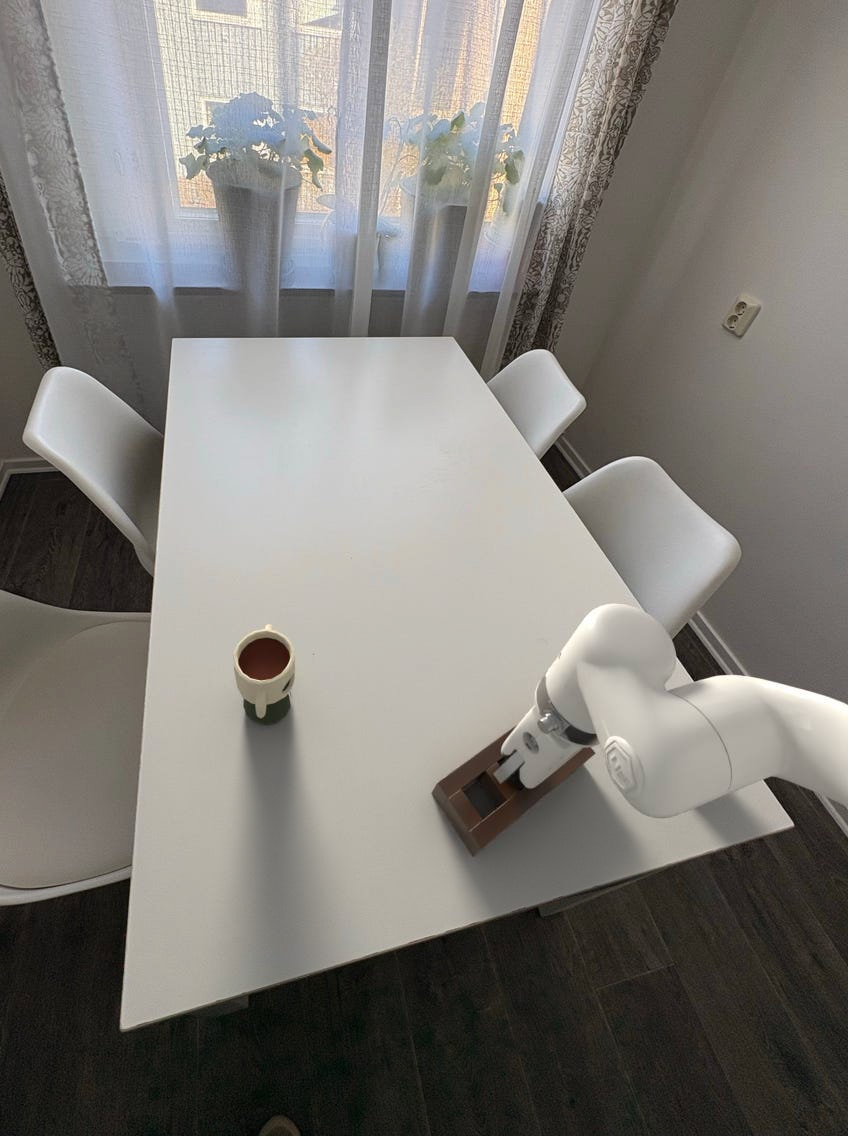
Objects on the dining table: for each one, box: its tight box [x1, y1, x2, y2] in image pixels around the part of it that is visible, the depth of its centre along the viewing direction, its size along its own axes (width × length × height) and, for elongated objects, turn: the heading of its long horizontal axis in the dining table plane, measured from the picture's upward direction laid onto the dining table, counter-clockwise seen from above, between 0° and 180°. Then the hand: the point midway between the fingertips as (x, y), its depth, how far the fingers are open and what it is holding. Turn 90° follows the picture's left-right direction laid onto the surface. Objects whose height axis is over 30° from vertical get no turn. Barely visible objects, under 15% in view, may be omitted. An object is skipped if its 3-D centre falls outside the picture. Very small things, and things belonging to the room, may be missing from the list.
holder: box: [431, 723, 596, 857], centre depth 66 cm, size 8×19×4 cm, turn 123°
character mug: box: [232, 623, 296, 725], centre depth 66 cm, size 11×7×13 cm, turn 2°
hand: (521, 767), depth 64 cm, fingers closed on peg, 3 cm apart
